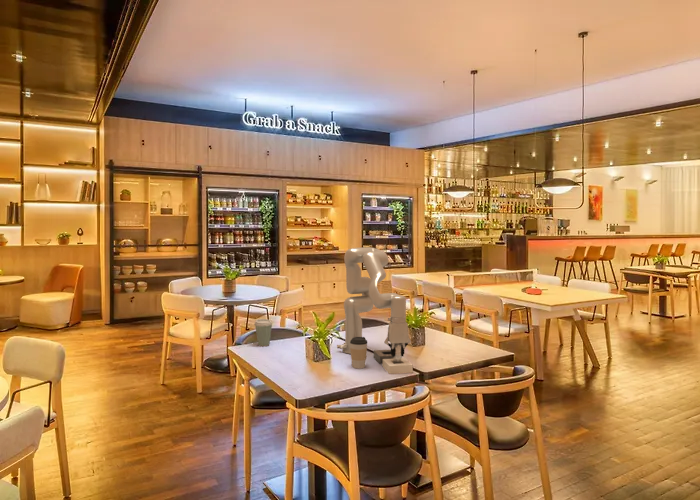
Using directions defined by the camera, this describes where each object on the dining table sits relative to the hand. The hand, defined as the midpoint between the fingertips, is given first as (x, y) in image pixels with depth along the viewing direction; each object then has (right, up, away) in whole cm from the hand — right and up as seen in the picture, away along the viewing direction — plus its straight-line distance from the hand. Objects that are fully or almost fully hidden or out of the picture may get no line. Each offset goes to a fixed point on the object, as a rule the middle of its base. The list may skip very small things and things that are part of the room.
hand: (397, 355), depth 246 cm
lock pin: (0, -6, 0) cm, 6 cm away
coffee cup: (-20, -7, +5) cm, 21 cm away
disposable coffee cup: (-76, -4, +45) cm, 88 cm away
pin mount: (-4, -6, +17) cm, 18 cm away
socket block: (0, -7, 0) cm, 7 cm away
